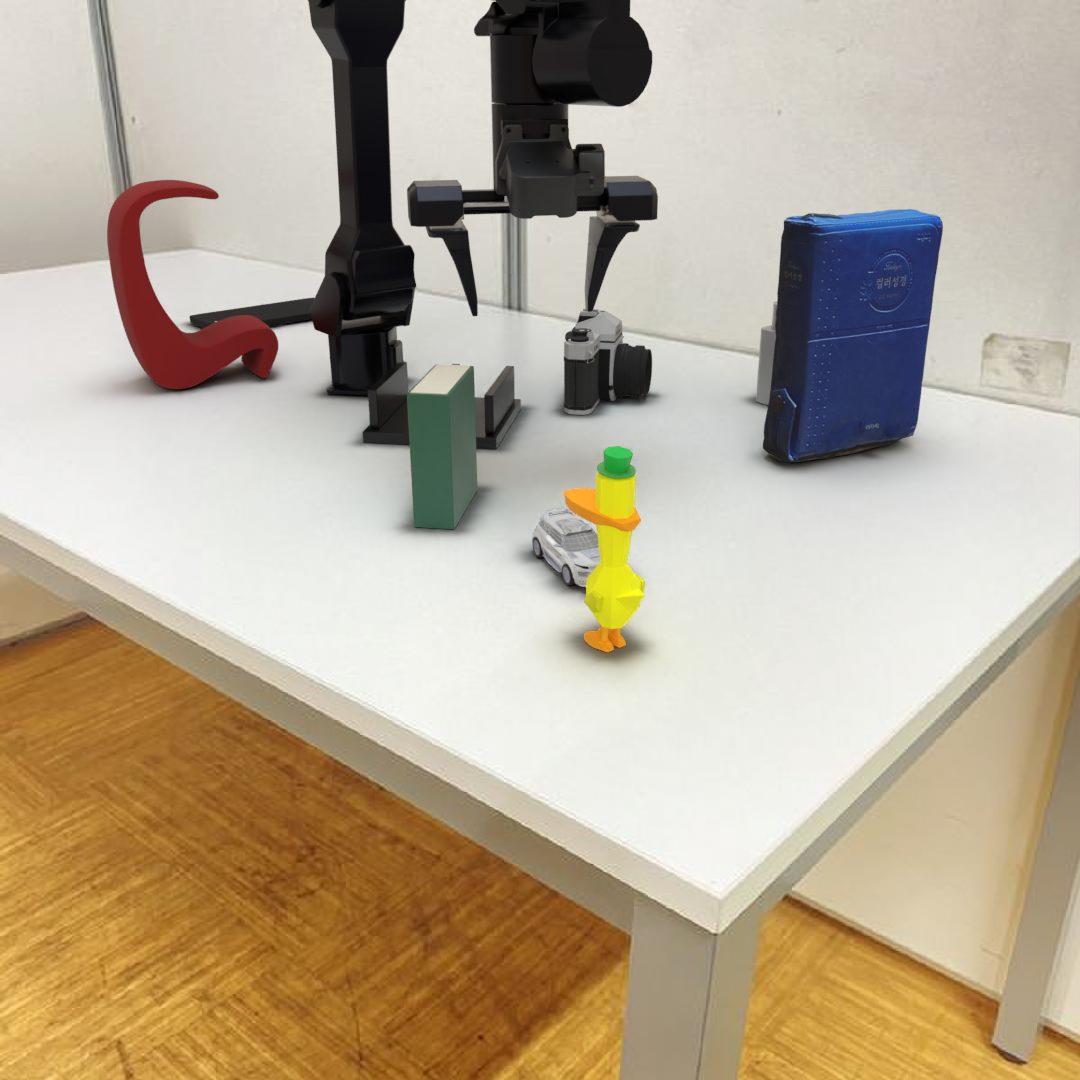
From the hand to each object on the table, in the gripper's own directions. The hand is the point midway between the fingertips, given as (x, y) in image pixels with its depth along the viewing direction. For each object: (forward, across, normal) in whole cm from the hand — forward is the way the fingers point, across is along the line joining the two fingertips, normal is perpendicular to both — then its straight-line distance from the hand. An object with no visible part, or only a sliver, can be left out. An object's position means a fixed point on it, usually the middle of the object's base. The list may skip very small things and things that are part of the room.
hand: (532, 313), depth 90 cm
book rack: (+12, -7, +11) cm, 18 cm away
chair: (+12, -31, +31) cm, 46 cm away
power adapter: (+13, +27, +14) cm, 33 cm away
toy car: (+13, 0, -21) cm, 25 cm away
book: (+13, +26, -1) cm, 29 cm away
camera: (+13, +10, +17) cm, 24 cm away
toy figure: (+13, 0, -32) cm, 34 cm away
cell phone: (+12, -26, +59) cm, 66 cm away
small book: (+12, -8, -9) cm, 18 cm away
